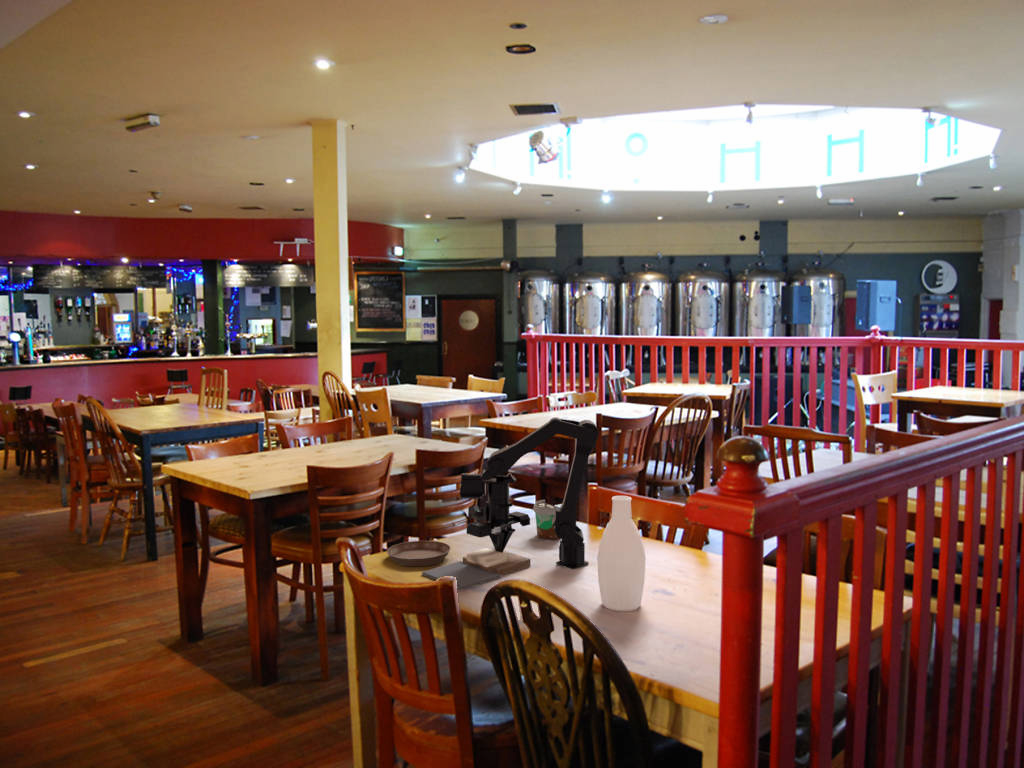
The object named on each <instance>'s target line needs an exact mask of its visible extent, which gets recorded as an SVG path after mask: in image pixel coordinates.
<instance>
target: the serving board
mask: <svg viewBox="0 0 1024 768" xmlns="http://www.w3.org/2000/svg"><path fill="white" fill-rule="evenodd" d="M491 549H492V550H495V548H494V547H493V548H491ZM503 553H505V554H507V562H503V563H500V564H497V565H493V566H490V567H484V566H481V565H478V564H476V563H473V562H470V561H467V555H466V556H463V557H462V562H465V563H468V564H471V565H474V566H477V567H480V568H483V569H485V570H488V571H491V572H494V573H497V574H500V577H501V576H504V575H507V574H510V573H513V572H517V571H521V570H523V569H526V568H529V566H530V567H531V558H530V557H529V558H528V557H525V556H522V555H518V554H515V553H512V552H508V551H506V550H504V551H503Z"/></svg>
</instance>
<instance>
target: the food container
mask: <svg viewBox="0 0 1024 768" xmlns="http://www.w3.org/2000/svg"><path fill="white" fill-rule="evenodd" d="M555 506H556V505H553V504H549V503H547V502H546V499H540V500H537V501H535V502H534V505H533V509H532V511H533V512H534V514H535V523H536V536H537V538H539V539H542V540H546V539H548V540H547V541H556V540H557V539H560V538H559V537H557V535H556V534H555V531H554V526H553V525H552V518H553V517H554V514H555ZM560 540H561V539H560ZM557 541H558V540H557Z"/></svg>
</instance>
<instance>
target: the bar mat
mask: <svg viewBox="0 0 1024 768" xmlns="http://www.w3.org/2000/svg"><path fill="white" fill-rule="evenodd" d="M421 573H422V576H424V577H426V578H429V579H431V580H434V581H437V580H436V579H438V578H440V577H444V576H453V577H456V580H457V587H458V588H457V589H458V590H460V591H463V590H466V589H468V588H473V587H475V585H476V586H478V585H481V584H484V583H488V582H490V581H494V580H497V579H500V578H501V576H500V574H497V573H494V572H491V571H488V570H485V569H483V568H480V567H477V566H474V565H471V564H468V563H465V562H463V560H462V561H461V560H459V561H455V562H452V563H449V564H446V565H442V566H438V567H434V568H432V569H428V570H425V571H424V570H423V571H421ZM472 586H473V587H472ZM465 588H466V589H465Z"/></svg>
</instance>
